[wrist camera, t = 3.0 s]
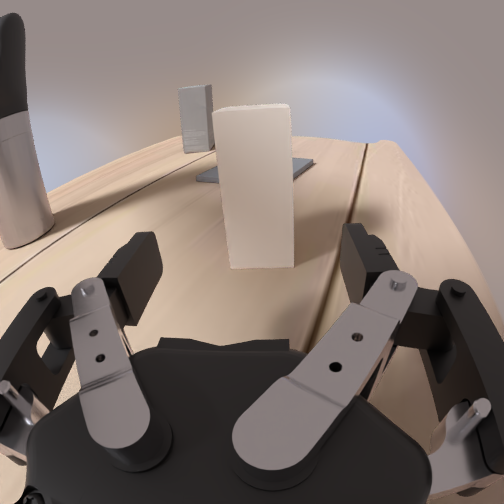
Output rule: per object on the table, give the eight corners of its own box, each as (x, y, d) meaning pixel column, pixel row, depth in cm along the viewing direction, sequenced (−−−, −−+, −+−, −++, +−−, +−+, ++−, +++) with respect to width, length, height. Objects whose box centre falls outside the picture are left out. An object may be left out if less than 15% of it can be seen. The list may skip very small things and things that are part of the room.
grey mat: (196, 181, 45) (195, 176, 45) (242, 158, 56) (241, 154, 55) (280, 189, 39) (280, 183, 39) (313, 163, 49) (313, 159, 49)
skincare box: (191, 147, 72) (184, 87, 64) (218, 144, 72) (212, 83, 64) (182, 154, 65) (174, 87, 57) (213, 151, 65) (205, 83, 57)
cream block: (230, 268, 24) (211, 112, 18) (237, 238, 28) (223, 107, 22) (294, 267, 23) (290, 107, 17) (291, 236, 28) (286, 103, 22)
